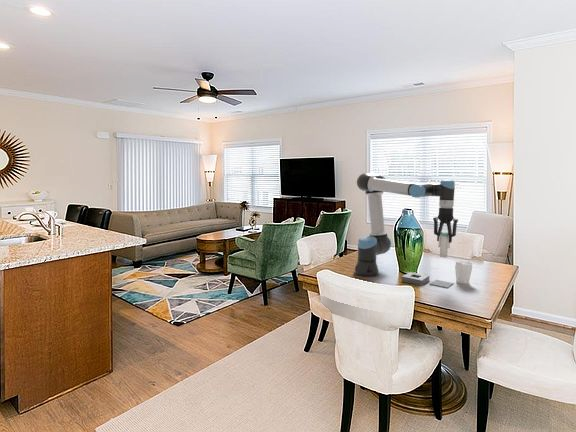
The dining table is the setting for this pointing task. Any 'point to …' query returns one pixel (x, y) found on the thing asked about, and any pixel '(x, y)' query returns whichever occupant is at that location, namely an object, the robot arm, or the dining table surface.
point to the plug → (443, 244)
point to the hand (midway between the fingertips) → (443, 247)
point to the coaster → (441, 283)
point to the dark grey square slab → (415, 278)
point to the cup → (463, 272)
